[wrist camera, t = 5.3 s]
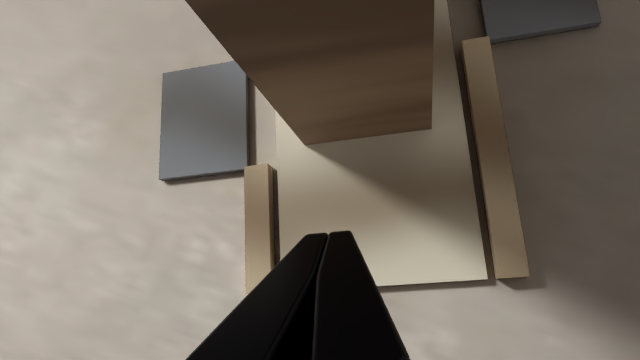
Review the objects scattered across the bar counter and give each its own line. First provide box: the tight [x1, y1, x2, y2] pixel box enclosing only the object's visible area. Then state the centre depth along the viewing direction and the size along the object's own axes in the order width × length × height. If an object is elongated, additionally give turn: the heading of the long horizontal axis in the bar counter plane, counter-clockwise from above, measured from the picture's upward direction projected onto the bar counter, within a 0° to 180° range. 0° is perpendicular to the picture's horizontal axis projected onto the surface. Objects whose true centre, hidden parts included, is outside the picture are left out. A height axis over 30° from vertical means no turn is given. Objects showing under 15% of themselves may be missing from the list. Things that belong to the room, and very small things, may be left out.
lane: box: [159, 0, 601, 294], centre depth 18 cm, size 21×18×3 cm
